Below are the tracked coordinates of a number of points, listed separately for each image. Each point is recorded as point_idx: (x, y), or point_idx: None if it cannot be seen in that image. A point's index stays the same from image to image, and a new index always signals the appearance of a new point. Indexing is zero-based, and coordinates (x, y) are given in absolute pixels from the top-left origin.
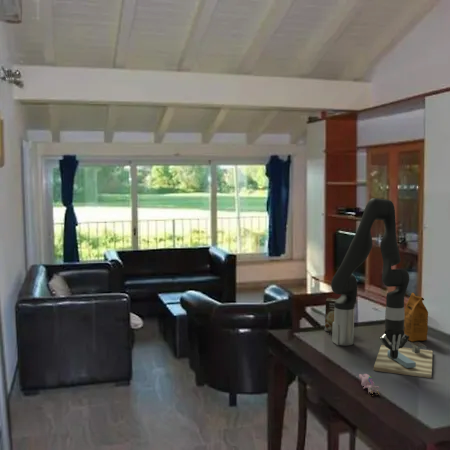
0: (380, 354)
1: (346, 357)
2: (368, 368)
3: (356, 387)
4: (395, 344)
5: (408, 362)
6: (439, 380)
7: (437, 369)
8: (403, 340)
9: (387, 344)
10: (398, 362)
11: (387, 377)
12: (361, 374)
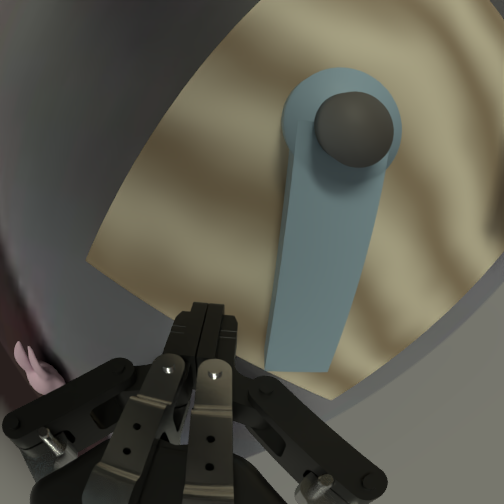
0: (262, 26)
1: (44, 17)
2: (78, 213)
3: (25, 351)
4: (217, 404)
5: (284, 364)
6: (338, 402)
7: (438, 321)
8: (294, 472)
9: (98, 426)
10: (276, 265)
11: (136, 339)
12: (19, 358)
